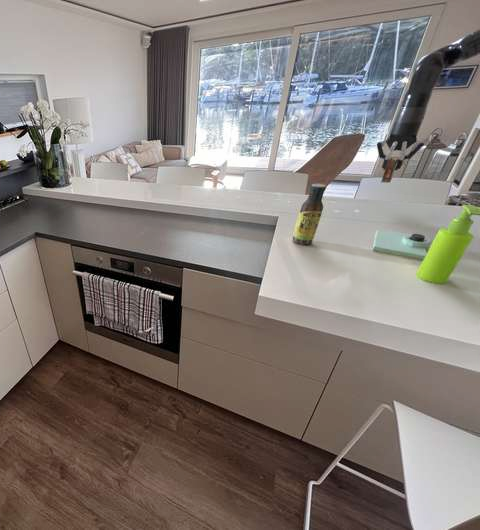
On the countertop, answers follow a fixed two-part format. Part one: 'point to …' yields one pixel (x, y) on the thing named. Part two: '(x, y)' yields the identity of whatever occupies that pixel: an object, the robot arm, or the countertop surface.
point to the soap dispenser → (448, 248)
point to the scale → (399, 244)
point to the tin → (390, 169)
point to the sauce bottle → (309, 215)
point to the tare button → (417, 237)
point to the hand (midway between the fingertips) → (390, 169)
